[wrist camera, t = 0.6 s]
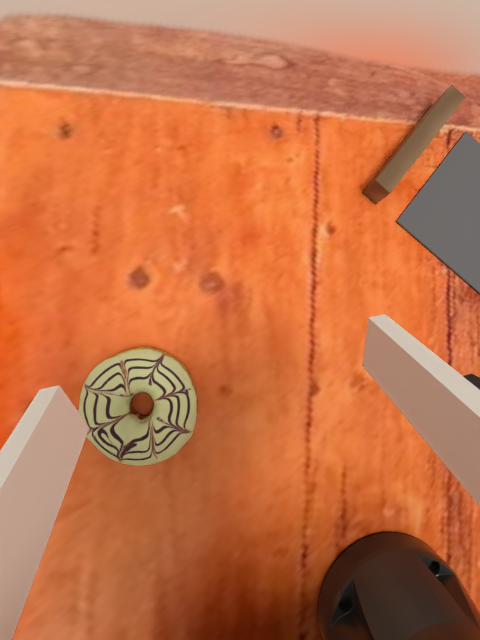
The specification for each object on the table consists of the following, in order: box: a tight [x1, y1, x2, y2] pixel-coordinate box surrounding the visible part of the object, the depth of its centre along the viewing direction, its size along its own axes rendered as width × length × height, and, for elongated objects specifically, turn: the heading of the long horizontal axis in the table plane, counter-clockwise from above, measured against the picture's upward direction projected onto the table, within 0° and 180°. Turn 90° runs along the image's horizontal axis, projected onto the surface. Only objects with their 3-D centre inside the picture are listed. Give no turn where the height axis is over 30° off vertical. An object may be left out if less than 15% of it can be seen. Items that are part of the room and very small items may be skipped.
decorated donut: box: [78, 347, 197, 466], centre depth 26 cm, size 10×11×4 cm
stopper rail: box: [362, 85, 465, 204], centre depth 30 cm, size 2×14×2 cm, turn 141°
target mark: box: [396, 132, 480, 294], centre depth 31 cm, size 14×14×1 cm
